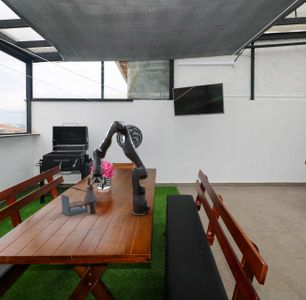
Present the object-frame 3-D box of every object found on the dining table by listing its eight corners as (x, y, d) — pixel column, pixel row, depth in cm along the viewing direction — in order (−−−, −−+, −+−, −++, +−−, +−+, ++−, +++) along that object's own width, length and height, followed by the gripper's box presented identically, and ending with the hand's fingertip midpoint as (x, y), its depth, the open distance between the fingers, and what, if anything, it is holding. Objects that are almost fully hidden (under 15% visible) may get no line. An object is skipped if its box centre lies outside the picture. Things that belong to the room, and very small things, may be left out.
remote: (91, 211, 189) (91, 199, 188) (96, 211, 189) (95, 199, 188) (90, 213, 184) (89, 201, 184) (94, 213, 184) (93, 201, 183)
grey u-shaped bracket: (81, 207, 199) (80, 190, 198) (87, 211, 191) (86, 192, 190) (62, 212, 190) (61, 193, 188) (68, 215, 181) (67, 196, 180)
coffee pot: (96, 200, 219) (95, 182, 217) (99, 203, 208) (98, 185, 207) (70, 203, 211) (69, 185, 209) (72, 207, 200) (71, 188, 199)
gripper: (107, 172, 208) (106, 191, 199) (90, 174, 208) (88, 192, 199) (105, 168, 202) (104, 186, 192) (87, 169, 202) (86, 188, 193)
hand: (96, 189), depth 196 cm, fingers open, 8 cm apart
